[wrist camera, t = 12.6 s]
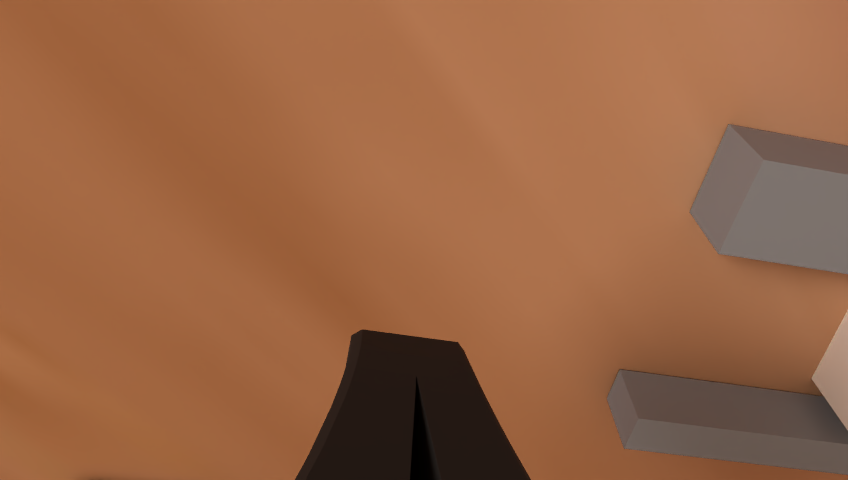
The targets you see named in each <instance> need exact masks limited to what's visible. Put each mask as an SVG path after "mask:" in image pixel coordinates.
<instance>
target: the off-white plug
mask: <svg viewBox="0 0 848 480" xmlns="http://www.w3.org/2000/svg"><path fill="white" fill-rule="evenodd" d="M811 379H812V380H813V382H814V383H815V384H816V386H817V387H818V389H819V390H820V392H821V393H822V394H823V396H824V397H825V399H826V400H827V402H828V403H829V404H830V406H831V407H832V409H833V410H834V412H835V413H836V415H837V416H838V417H839V419H840V420H841V422H842V423H843V425H844V426H845V427H846V429H847V430H848V311H847V312H846V314H845V316H844V318H843V320H842V322H841V324H840V326H839V327H838V329H837V331H836V333H835V335H834V337H833V339H832V341H831V342H830V344H829V346H828V348H827V350H826V352H825V354H824V356H823V358H822V359H821V361H820V363H819V365H818V367H817V369H816V371H815V373H814V374H813V376H812V378H811Z"/></svg>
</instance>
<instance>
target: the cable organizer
mask: <svg viewBox="0 0 848 480" xmlns="http://www.w3.org/2000/svg"><path fill="white" fill-rule="evenodd" d="M690 213H691V215H692V216H693V218H694V219H695V221H696V222H697V224H698V225H699V226H700V228H701V229H702V231H703V232H704V234H705V235H706V237H707V238H708V240H709V241H710V242H711V244H712V245H713V247H714V248H715V250H716V251H717V253H718V254H723V255H730V256H736V257H742V258H749V259H755V260H761V261H768V262H774V263H780V264H787V265H793V266H799V267H806V268H812V269H818V270H825V271H831V272H837V273H844V274H848V146H846V145H840V144H835V143H829V142H824V141H818V140H813V139H807V138H802V137H796V136H791V135H785V134H780V133H774V132H769V131H764V130H758V129H753V128H747V127H742V126H736V125H731V124H729V125H728V127H727V129H726V131H725V134H724V136H723V138H722V140H721V143H720V145H719V147H718V149H717V152H716V154H715V156H714V158H713V161H712V163H711V165H710V167H709V170H708V172H707V174H706V176H705V179H704V181H703V183H702V185H701V188H700V190H699V192H698V194H697V197H696V199H695V201H694V203H693V206H692V208H691V210H690ZM607 401H608V403H609V406H610V409H611V412H612V415H613V418H614V421H615V424H616V427H617V430H618V433H619V435H620V438H621V441H622V444H623V447H624V449H633V450H641V451H650V452H658V453H666V454H675V455H683V456H692V457H700V458H709V459H717V460H726V461H734V462H743V463H751V464H759V465H768V466H776V467H785V468H793V469H802V470H810V471H819V472H827V473H836V474H844V475H848V430H847V429H846V427H845V426H844V425H843V423H842V422H841V420H840V419H839V417H838V416H837V415H836V413H835V412H834V410H833V409H832V407H831V406H830V404H829V403H828V402H827V400H826V399H825V397H823V396H816V395H808V394H801V393H793V392H786V391H778V390H771V389H763V388H756V387H748V386H741V385H733V384H726V383H718V382H711V381H703V380H696V379H688V378H681V377H673V376H666V375H658V374H651V373H643V372H636V371H628V370H619V372H618V374H617V377H616V379H615V381H614V383H613V386H612V388H611V390H610V392H609V395H608V397H607Z"/></svg>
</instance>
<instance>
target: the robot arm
mask: <svg viewBox="0 0 848 480" xmlns="http://www.w3.org/2000/svg"><path fill="white" fill-rule="evenodd" d="M295 480H531V479H530V477H529V476H528V474H527V472H526V470H525V469H524V467H523V465H522V463H521V462H520V460H519V458H518V456H517V455H516V453H515V451H514V450H513V448H512V446H511V444H510V442H509V440H508V439H507V437H506V435H505V433H504V431H503V429H502V428H501V426H500V424H499V422H498V420H497V418H496V416H495V414H494V412H493V410H492V408H491V406H490V404H489V402H488V400H487V398H486V396H485V394H484V392H483V390H482V388H481V386H480V384H479V382H478V380H477V378H476V376H475V374H474V372H473V369H472V367H471V365H470V363H469V361H468V359H467V356H466V354H465V352H464V350H463V349H462V347H461V346H460V345H459V343H458V342H452V341H444V340H437V339H429V338H422V337H415V336H407V335H400V334H392V333H385V332H377V331H370V330H360V331H359V332H357V333H355V334H353V335H352V336H351V341H350V347H349V352H348V357H347V363H346V368H345V372H344V375H343V378H342V380H341V383H340V386H339V388H338V391H337V394H336V396H335V399H334V401H333V404H332V406H331V409H330V411H329V413H328V415H327V417H326V419H325V421H324V423H323V426H322V428H321V430H320V432H319V434H318V436H317V438H316V440H315V443H314V445H313V447H312V449H311V451H310V453H309V455H308V457H307V459H306V461H305V463H304V465H303V466H302V468H301V470H300V472H299V473H298V475H297V477H296V479H295Z"/></svg>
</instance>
